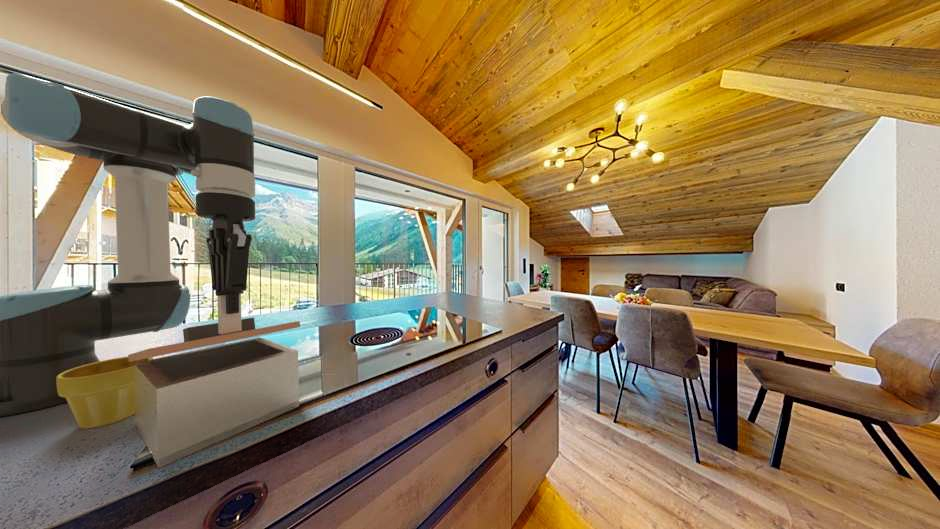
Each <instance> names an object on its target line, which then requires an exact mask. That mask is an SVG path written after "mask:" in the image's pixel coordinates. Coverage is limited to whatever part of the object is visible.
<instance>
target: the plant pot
mask: <svg viewBox="0 0 940 529" xmlns="http://www.w3.org/2000/svg"><path fill="white" fill-rule="evenodd" d="M152 359H154V357H150V358H146V359H141V360H136V361H131V362H129V360H128V356H122V357H117V358H115V357H114V358H110V359H103V360H100V361H99V362H95V363H90V364H86V365H83V366H79V367H76V368H73V369H70V370H67V371H65V372H63V373H61V374H59V375H58V376H57V378H56V383H57V392H58V395H59V396H60V397H65V398H66V400H67V402H66V403H67V404H68V406H69V408H70V410H71V413H72V415H73V416H74V419H75V420H76V423H77V426H78V427H79V428H80V429H86V430H87V429H88V428H89V429H94V428H95V427H96V428H101V427H104V426H108V425H111V424H113V423H116V422H120V421H122V420H123V421H124V420H125V419H128V418H130V417H131V416H134V415H135V387H134V363H138V362H142V361H147V360H152ZM96 428H95V429H96Z"/></svg>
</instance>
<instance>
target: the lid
mask: <svg viewBox="0 0 940 529" xmlns="http://www.w3.org/2000/svg"><path fill="white" fill-rule="evenodd" d="M241 324H242V331H237V332H231V333H226V334H219V333H218V322H217V323H211V324H203V325H196V326H191V327H186V328H183V329H182V332H183V342H179V343H178V342H177V343H173V344H167V345H161V346H156V347H152V348H147V349H143V350H141V351H140V350H139V351H136V352H134V353H130V354H128V355H127V357H128V360H129V362H131V361H136V360H141V359H146V358H150V357H153V358H154V357H158V356H165V355H169V354H174V353H178V352H179V353H180V352H184V351H189V350H194V349H198V348H200V349H201V348H203V347H210V346H213V345H218V344H223V343H224V344H225V343H227V342H233V341H238V340H239V341H240V340H245V339H247V338H249V339H250V338H253V337H254V338H255V337H257V336H258V337H259V336H263V335H268V334H272V333H273V334H274V333H277V332H283V331H287V330H292V329H296V328H297V329H298V328H301V321H300V320H297V321H292V322H287V323H282V324H281V323H280V324H275V325H270V326H264V327H259V328H256V323H255V317H247V318H241Z"/></svg>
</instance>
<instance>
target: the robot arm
mask: <svg viewBox="0 0 940 529" xmlns="http://www.w3.org/2000/svg"><path fill="white" fill-rule="evenodd" d="M5 78H6V80H5V86H4V87H5V88H4V100H3V101H2V103H1V104H0V111H1V112H0V113H1V115H2V118H3V120H4V121H5V122H6V124H7V125H8V126H9V127H10V128H12V130H14V131H15V132H17V133H18V134H20V135H21V136H23V137H25V138H27V139H28V140H31V141H33V142H36V143H38V144H40V145H43V146H46V147H49V148H52V149H54V150H57V151H61V152H65V153H68V154H71V155H75V156H79V157H83V158H88V159H94V160H97V161H98V160H99V161H102V163H103V170H104V171H105V172H107V173H108V174H109V175H111V176H112V177H113V178H114V190H115V191H114V196H115V197H114V198H115V200H114V201H115V225H116V226H115V227H116V228H115V229H116V254H117V255H116V256H117V258H116V259H117V275H115V277H114V276H113V278H112V279H110V280H108V282H107V289H100V290H99V289H97V290H95V287H93V285H92V284H77V285H70V286H59V287H50V288H41V289H35V290H34V289H33V290H25V291H22V292H21V291H20V292H19V291H18V292H14V293H7V294H4V295H0V417H6V416H13V415H17V414H22V413H27V412H32V411H33V412H34V411H38V410H42V409H45V408H49V407H53V406H56V405H61V404H65V403H68V402H67V400H66V398H65V397H60V396H59V395H58V392H57V383H56V378H57V376H58V375H59V374H61V373H63V372H65V371H67V370H70V369H73V368H76V367H79V366H83V365H86V364H90V363H95V362H99V361H101V360H100V359H99V357H98V356H97V354H96V351H95V349H96V348H95V345H96V342H97V341H103V340H108V339H115V338H123V337H127V336H134V335H138V334H145V333H151V332H152V333H157V332H161V331H164V330H169V329H174V328H176V327H179V326H180V325H182V323H183V322H184V321H185V319H186V318H187V315H188V313H189V310H190V304H191V294H190V288H189V287H188V285H186V284H185V285H184V284H180V278H179V277H177V276H175V275H174V274H173V273H172V272H171V248H170V247H171V245H170V243H171V242H170V221H169V219H170V218H169V192H168V191H169V190H168V188H169V187H168V186H169V184H171V183H173V182H176V180H177V178H176V177H177V176H181V175H182V174H188V175H191V176H193V177H195V178H196V179H195V189H196V191H198V192H199V193H197V194H195V214H196V215H197V216H198V217H200V218H203V219H210V220H212V226H211V228H209V230H208V237H207V238H206V240H205V242H206V245H207V248H208V255H209V256H208V257H209V265H210V266H209V267H210V274H211V289H212V290H213V291H215V296H216V297H217V323H218V333H219V334H226V333H231V332H237V331H242V324H241V319H242V302H241V301H242V293H243V291H247V289H248V288H247V287H248V286H247V284H248V283H247V282H248V269H249V256H250V255H249V254H250V246H251V242H252V239H253V238H252V234H249V233H248V234H247V231H246V230H245V225H244V222H252V221H254V220H255V219H256V202H255V201H254V199H253V198H254V197H256V180H255V176H256V175H255V172H254V171H255V162H254V160H255V149H254V148H255V146H254V145H255V144H254V141H255V140H254V137H255V133H254V125H253V118H252V115H251V114H250V112H248V111H247V110H246V109H245V108H243V107H242V106H240V105H238V104H236V103H233V102H231V101H229V100H226V99H224V98H223V99H222V98H218V97H215V96H200V97H197V98H196V99H194V102H193V109H192V112H191V115H192V116H193V117H192V118H193V122H192V123H191V124H189V125H186V124H182V123H180V122H176V121H173V120H170V119H167V118H164V117H161V116H158V115H154V114H152V113H151V114H150V113H148V112H144V111H142V110H138V109H134V108H131V107H128V106H124V105H122V104H119V103H115V102H112V101H109V100H107V99H103V98H100V97H97V96H94V95H91V94H88V93H85V92H82V91H78V90H76V89H72V88H69V87H67V86H64V85H63V84H59V83H57V82H54V81H49V80H43V79H40V78H36V77H33V76H29V75H26V74H22V73H17V72H13V73H9V74H7V76H6V77H5Z"/></svg>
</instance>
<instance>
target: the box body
mask: <svg viewBox="0 0 940 529" xmlns="http://www.w3.org/2000/svg"><path fill="white" fill-rule="evenodd" d="M299 371H300V370H299V350H298V349H295V348H292V347H289V346H286V345H284V344H283V345H282V344H280V343H278V342H274V341H272V340H268V339H266V338H263V337H259V336H258V337H257V336H256V337H254V338H253V337H252V338H249V339H242V340H239V341H238V340H237V341H235V342H233V341H232V342H230V343H224V344H220V345H215V346H211V347H210V346H208V347H206V348H200V349H196V350H191V351H186V352H181V353H177V354H172V355H167V356H163V357H158V358H153V359H152V360H147V361H142V362H138V363H134V387H135V414H134V415H135V416H134V417H135V427H136V430H137V431H138V432H139V435H140V436H141V438H142V440H143V442H144V444H145V446H146V447H148V448H147V449H148V451H149V450H150V451H151V452H152V455H153V457H152V459H153V460H154V462H155V464H156V465H157V468H158V469H159V468H162V467H164V466H166V465H168V464H171V463H173V462H176V461H178V460H180V459H183V458H185V457H187V456H189V455H192V454H193V453H196V452H198V451H201V450H203V449H205V448H208V447H209V446H213V445H215V444H216V443H219V442H221V441H224V440H226V439H228V438H230V437H233V436H234V435H237V434H240V433H241V432H243V431H247V430H249V429H250V428H253V427H255V426H257V425H261V423H264V422H266V421H269V420H271V419H274V418H276V417H278V416H281V415H283V414H285V413H287V412H291V411H292V410H294V409H296V408H298V407H300V384H299V383H300V381H299V378H300V377H299V376H300V375H299ZM150 451H149V452H150ZM152 455H151V456H152Z"/></svg>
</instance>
